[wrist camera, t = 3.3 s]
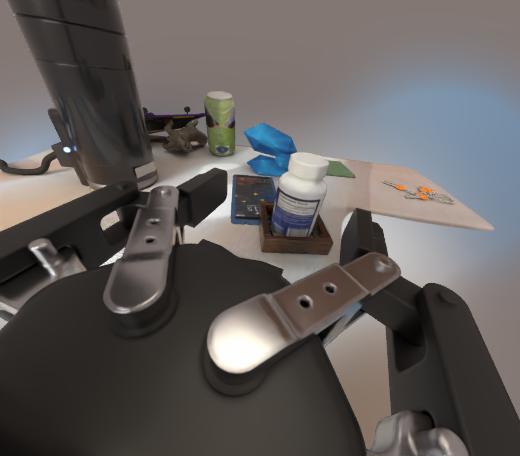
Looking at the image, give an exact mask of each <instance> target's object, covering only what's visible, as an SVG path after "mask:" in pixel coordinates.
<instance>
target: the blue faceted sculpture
mask: <svg viewBox="0 0 520 456" xmlns="http://www.w3.org/2000/svg"><path fill="white" fill-rule="evenodd" d="M244 133H245V135H246V137H247V138H248V140H249V142H250V144H251V146H252V148H253V149H254V151H258V152H261V153H265V154H269V155H272V156H276V158H271V157H267V156H263V155H259V156H257V157H256V158H254V159H252V160H250V161H248V162H247V163H248V165H249V166H250V167H251V168H252V169H253V170H254V171H255V172H256V173H257V174H258V175H269V176H282V175H283V174H284V173H286V172H288V171H289V170H288V165H289V161H290V157H291V154H293V153H296V152H297V151H296V148H295V146H294V143H293V141H292V138H291V137H290V136H288V135H286V134H284V133H282V132H280V131H278V130H276V129H275V128H273V127H271V126H269V125H267V124H265V123H262V124H260V125H258V126H255V127H253V128H250V129H248V130H246V131H244Z"/></svg>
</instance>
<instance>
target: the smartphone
mask: <svg viewBox="0 0 520 456" xmlns="http://www.w3.org/2000/svg"><path fill="white" fill-rule="evenodd" d="M275 198H276V190H275V187H274V183H273V180H272V178H271V177H261V176H248V175H233V188H232V203H231V204H232V205H231V222H232V223H233V224H244V223H245V222H246V223H247V224H249V225H259V213H258V209H259V202H260V201H266V202H275ZM267 217H268V223H269V225H271V219H272V214H267Z"/></svg>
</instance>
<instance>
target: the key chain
mask: <svg viewBox="0 0 520 456" xmlns="http://www.w3.org/2000/svg"><path fill="white" fill-rule="evenodd" d="M382 182H383V183H386V184H389V185H391V186H394V187H395V188H397V189H400V190H405V191H407V192H409V193H411V194H414V195H405V197H406V198H421V199H427V197H430V198H434V199H438V200H442V201H446V202H450V203H455V201H454V200H453V199H451V198H450V197H448V196H446V195H442V196H445V197H447V198H449V199H450V200H451V201H448V200H444V199H440V198H437V197H436V196H434V194H435V192H434V191H433V190H431V189H428V188H425V187H419V188H418V190H419V191H421V192H419V193H413V192H411V191H408V190H406V189H405V188H404V187H403V186H400V185H395V184H392V183H389V182H386V181H382ZM420 193H423V194H420ZM435 195H440V194H435Z"/></svg>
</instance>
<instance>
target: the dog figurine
mask: <svg viewBox="0 0 520 456" xmlns="http://www.w3.org/2000/svg"><path fill="white" fill-rule="evenodd" d="M197 124H198V120H197V119H194V122H193V123H190V124H187V125H186V126H185V128H181V129H180V130H173V129H171V128H172V126H173V122H172V120H169V122H168V123H167V124H166V126H165V127H164V130H165V131H166V132H167V133H168V134H169V136H168V137H167V140H168V141H169V144H164V145H163V148H164V149H169V148H174V149H182V150H184V151H186V152H189V151H192V145H191V144H190V142H192V141H198V143H200V144H201V146H202V147H203V146H204V145H205V144H206V143H207V139H208V138H207V137H206V135H205V134H203V133H202V132H200V131H199V130H197V128H195V126H196V125H197ZM187 145H188V146H189V147H190V148H189V149H187V148H185V147H186V146H187Z"/></svg>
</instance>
